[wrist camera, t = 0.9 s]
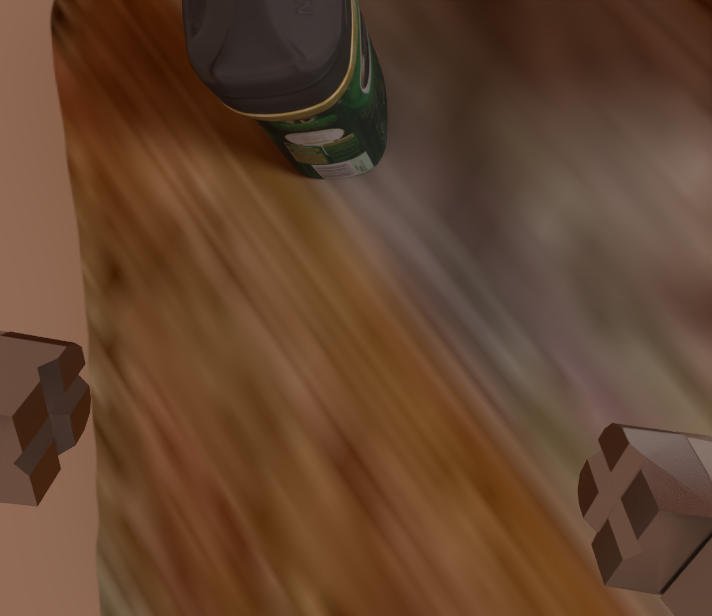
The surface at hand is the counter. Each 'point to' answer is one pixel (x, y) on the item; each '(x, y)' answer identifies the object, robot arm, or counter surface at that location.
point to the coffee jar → (295, 77)
